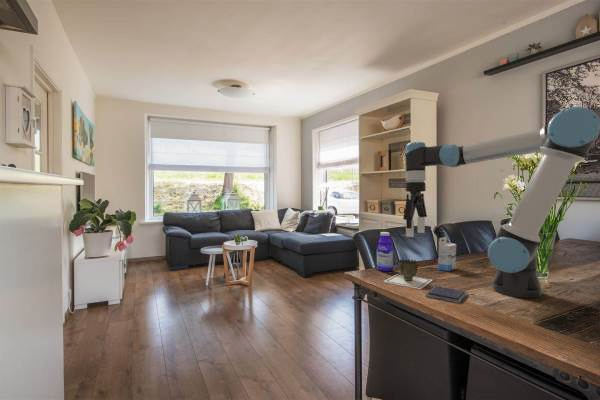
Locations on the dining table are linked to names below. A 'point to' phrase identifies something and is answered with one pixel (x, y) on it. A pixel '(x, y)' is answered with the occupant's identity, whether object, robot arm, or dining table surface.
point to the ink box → (446, 255)
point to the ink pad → (446, 294)
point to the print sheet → (415, 283)
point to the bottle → (385, 253)
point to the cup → (408, 269)
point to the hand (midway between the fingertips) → (415, 234)
